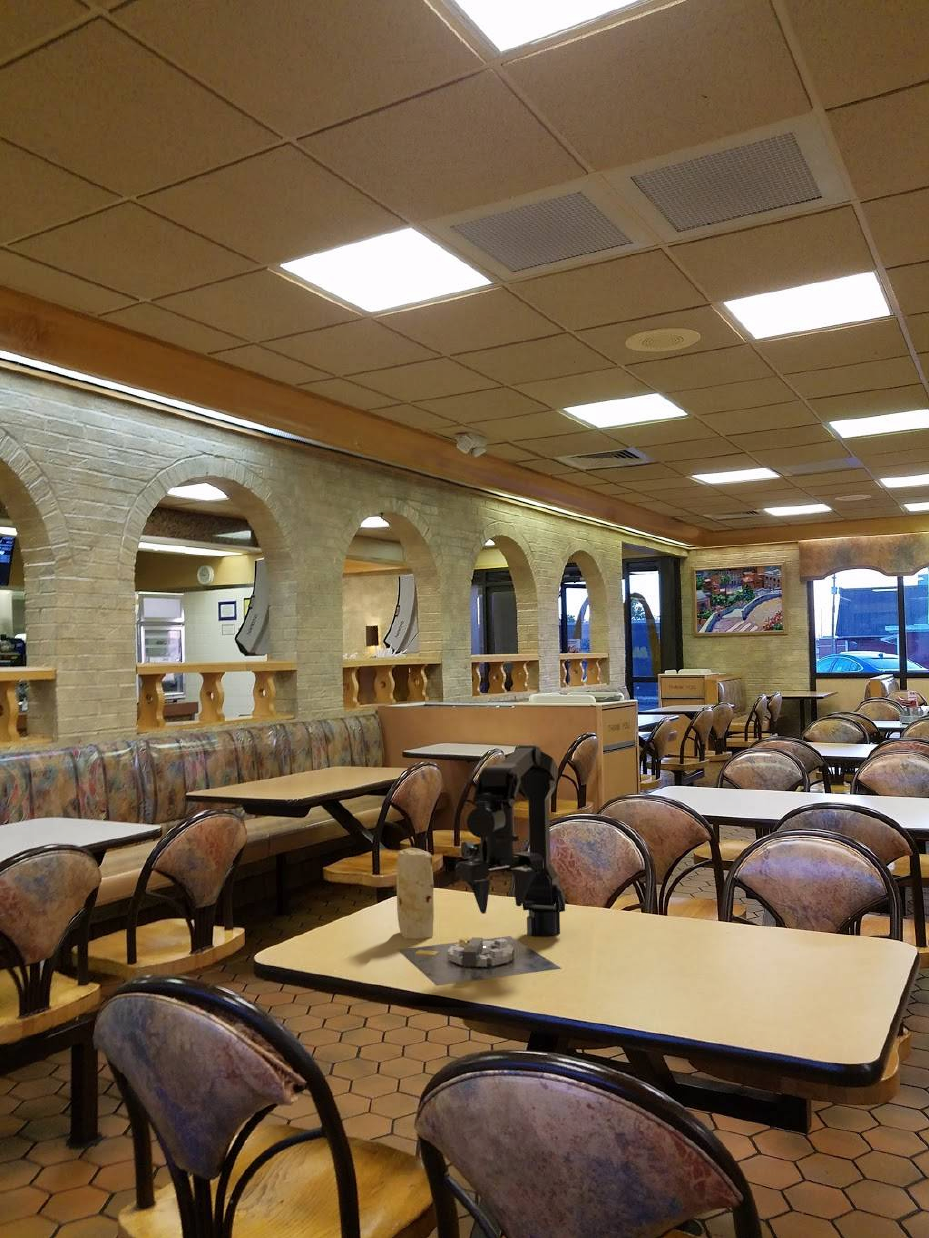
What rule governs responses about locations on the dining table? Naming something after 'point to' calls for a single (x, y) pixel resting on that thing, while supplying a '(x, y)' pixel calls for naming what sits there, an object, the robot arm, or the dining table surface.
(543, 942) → the dining table surface
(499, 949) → the grey ring frame
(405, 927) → the food model
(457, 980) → the cap plate
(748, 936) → the dining table surface
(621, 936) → the dining table surface
